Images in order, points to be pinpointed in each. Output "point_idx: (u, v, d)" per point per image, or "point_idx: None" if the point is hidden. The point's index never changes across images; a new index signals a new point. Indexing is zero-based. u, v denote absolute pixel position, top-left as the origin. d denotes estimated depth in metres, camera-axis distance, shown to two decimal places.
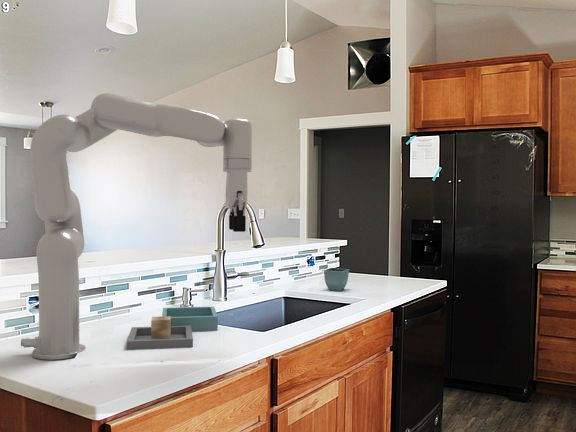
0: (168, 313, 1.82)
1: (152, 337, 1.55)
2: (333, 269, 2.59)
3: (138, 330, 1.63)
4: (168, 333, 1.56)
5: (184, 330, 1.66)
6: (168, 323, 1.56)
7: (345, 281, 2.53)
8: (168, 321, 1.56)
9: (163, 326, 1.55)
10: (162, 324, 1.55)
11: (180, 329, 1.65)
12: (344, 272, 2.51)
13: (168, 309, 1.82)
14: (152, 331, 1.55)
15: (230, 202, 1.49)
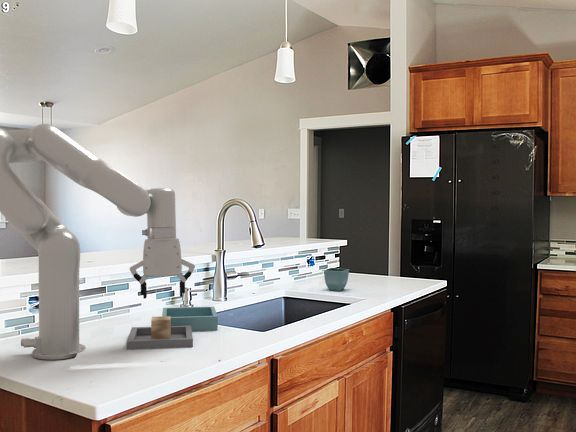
0: (168, 313, 1.82)
1: (152, 337, 1.55)
2: (333, 269, 2.59)
3: (138, 330, 1.63)
4: (168, 333, 1.56)
5: (184, 330, 1.66)
6: (168, 323, 1.56)
7: (345, 281, 2.53)
8: (168, 321, 1.56)
9: (163, 326, 1.55)
10: (162, 324, 1.55)
11: (180, 329, 1.65)
12: (344, 272, 2.51)
13: (168, 309, 1.82)
14: (152, 331, 1.55)
15: (181, 269, 1.56)
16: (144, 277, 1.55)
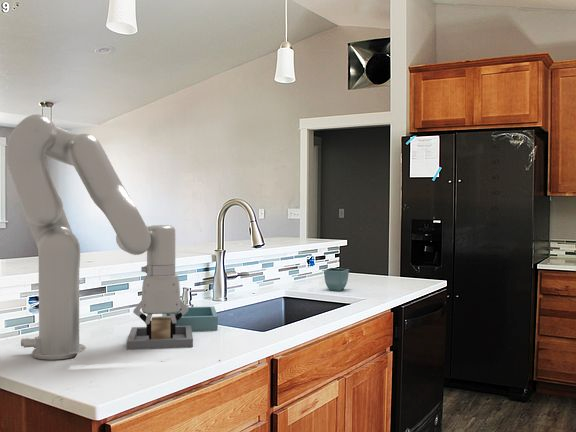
0: None
1: (152, 337, 1.55)
2: (333, 269, 2.59)
3: (138, 330, 1.63)
4: (168, 333, 1.56)
5: (184, 330, 1.66)
6: (168, 323, 1.56)
7: (345, 281, 2.53)
8: (168, 321, 1.56)
9: (164, 326, 1.55)
10: (162, 324, 1.55)
11: (180, 329, 1.65)
12: (344, 272, 2.51)
13: None
14: (152, 331, 1.55)
15: (179, 307, 1.56)
16: (148, 317, 1.56)
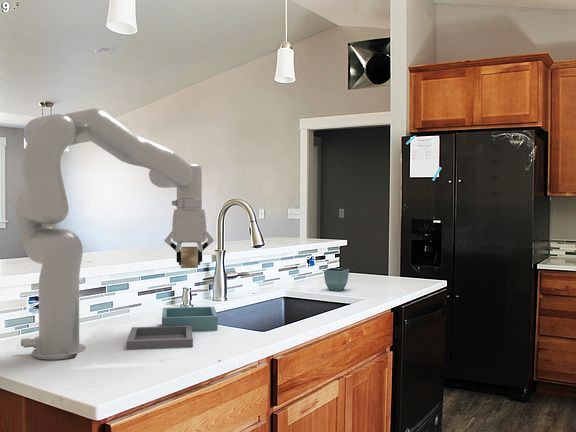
0: (168, 313, 1.82)
1: (182, 263, 1.73)
2: (333, 269, 2.59)
3: (138, 330, 1.63)
4: (196, 260, 1.74)
5: (184, 330, 1.66)
6: (196, 251, 1.74)
7: (345, 281, 2.53)
8: (196, 249, 1.74)
9: (192, 254, 1.74)
10: (190, 251, 1.74)
11: (180, 329, 1.65)
12: (344, 272, 2.51)
13: (168, 309, 1.82)
14: (182, 257, 1.73)
15: (206, 236, 1.75)
16: (178, 245, 1.74)
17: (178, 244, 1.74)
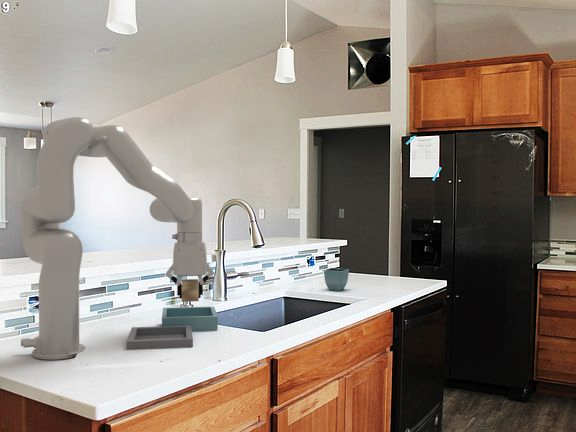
0: (168, 313, 1.82)
1: (182, 296, 1.74)
2: (333, 269, 2.59)
3: (138, 330, 1.63)
4: (196, 293, 1.75)
5: (184, 330, 1.66)
6: (196, 284, 1.75)
7: (345, 281, 2.53)
8: (196, 282, 1.75)
9: (192, 287, 1.74)
10: (191, 285, 1.74)
11: (180, 329, 1.65)
12: (344, 272, 2.51)
13: (168, 309, 1.82)
14: (183, 291, 1.74)
15: (206, 270, 1.75)
16: (179, 279, 1.75)
17: (179, 278, 1.75)
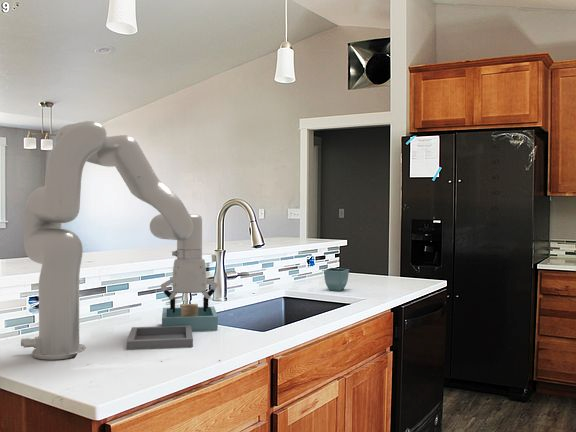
0: (168, 313, 1.82)
1: None
2: (333, 269, 2.59)
3: (138, 330, 1.63)
4: None
5: (184, 330, 1.66)
6: (196, 309, 1.75)
7: (345, 281, 2.53)
8: (196, 308, 1.75)
9: (192, 313, 1.75)
10: (191, 310, 1.74)
11: (180, 329, 1.65)
12: (344, 272, 2.51)
13: (168, 309, 1.82)
14: (182, 316, 1.74)
15: None
16: (173, 293, 1.74)
17: (174, 292, 1.75)
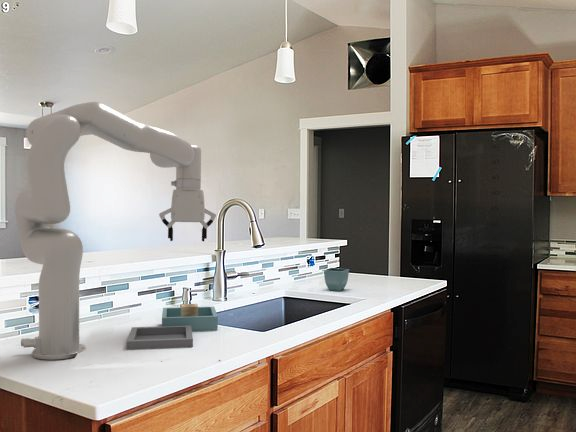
0: (168, 313, 1.82)
1: None
2: (333, 269, 2.59)
3: (138, 330, 1.63)
4: None
5: (184, 330, 1.66)
6: (196, 309, 1.75)
7: (345, 281, 2.53)
8: (196, 308, 1.75)
9: (192, 313, 1.75)
10: (191, 310, 1.74)
11: (180, 329, 1.65)
12: (344, 272, 2.51)
13: (168, 309, 1.82)
14: (182, 316, 1.74)
15: (204, 217, 1.78)
16: (171, 222, 1.77)
17: (172, 221, 1.77)
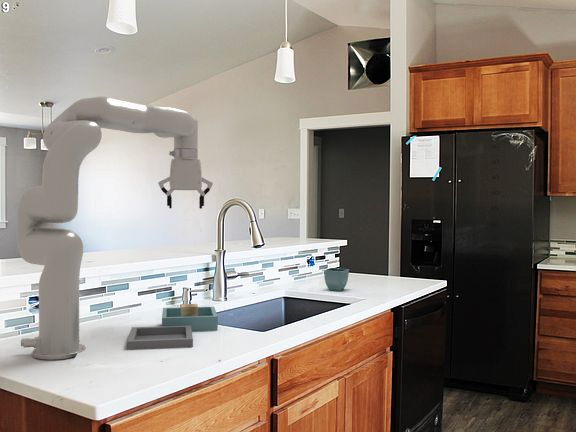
0: (168, 313, 1.82)
1: None
2: (333, 269, 2.59)
3: (138, 330, 1.63)
4: None
5: (184, 330, 1.66)
6: (196, 309, 1.75)
7: (345, 281, 2.53)
8: (196, 308, 1.75)
9: (192, 313, 1.75)
10: (191, 310, 1.74)
11: (180, 329, 1.65)
12: (344, 272, 2.51)
13: (168, 309, 1.82)
14: (182, 316, 1.74)
15: (201, 185, 1.86)
16: (170, 190, 1.85)
17: (171, 189, 1.85)
